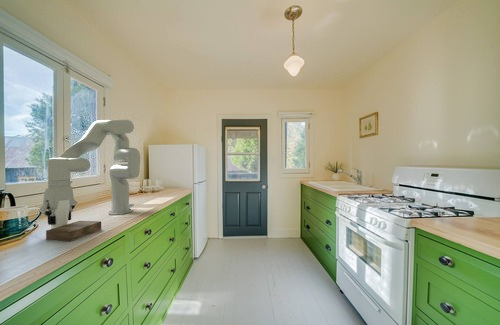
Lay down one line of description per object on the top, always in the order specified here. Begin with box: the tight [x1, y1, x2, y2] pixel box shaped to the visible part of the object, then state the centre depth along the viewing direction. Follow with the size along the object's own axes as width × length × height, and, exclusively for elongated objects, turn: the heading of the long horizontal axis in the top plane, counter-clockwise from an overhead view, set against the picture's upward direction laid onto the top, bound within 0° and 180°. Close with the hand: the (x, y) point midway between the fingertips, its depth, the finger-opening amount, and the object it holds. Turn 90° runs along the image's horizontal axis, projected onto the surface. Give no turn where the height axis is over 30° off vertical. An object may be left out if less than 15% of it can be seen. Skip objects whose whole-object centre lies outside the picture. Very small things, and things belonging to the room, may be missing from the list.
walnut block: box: [45, 220, 102, 242], centre depth 87 cm, size 14×12×4 cm
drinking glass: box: [50, 199, 70, 229], centre depth 91 cm, size 7×7×15 cm
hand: (60, 221), depth 91 cm, fingers closed on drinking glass, 6 cm apart
